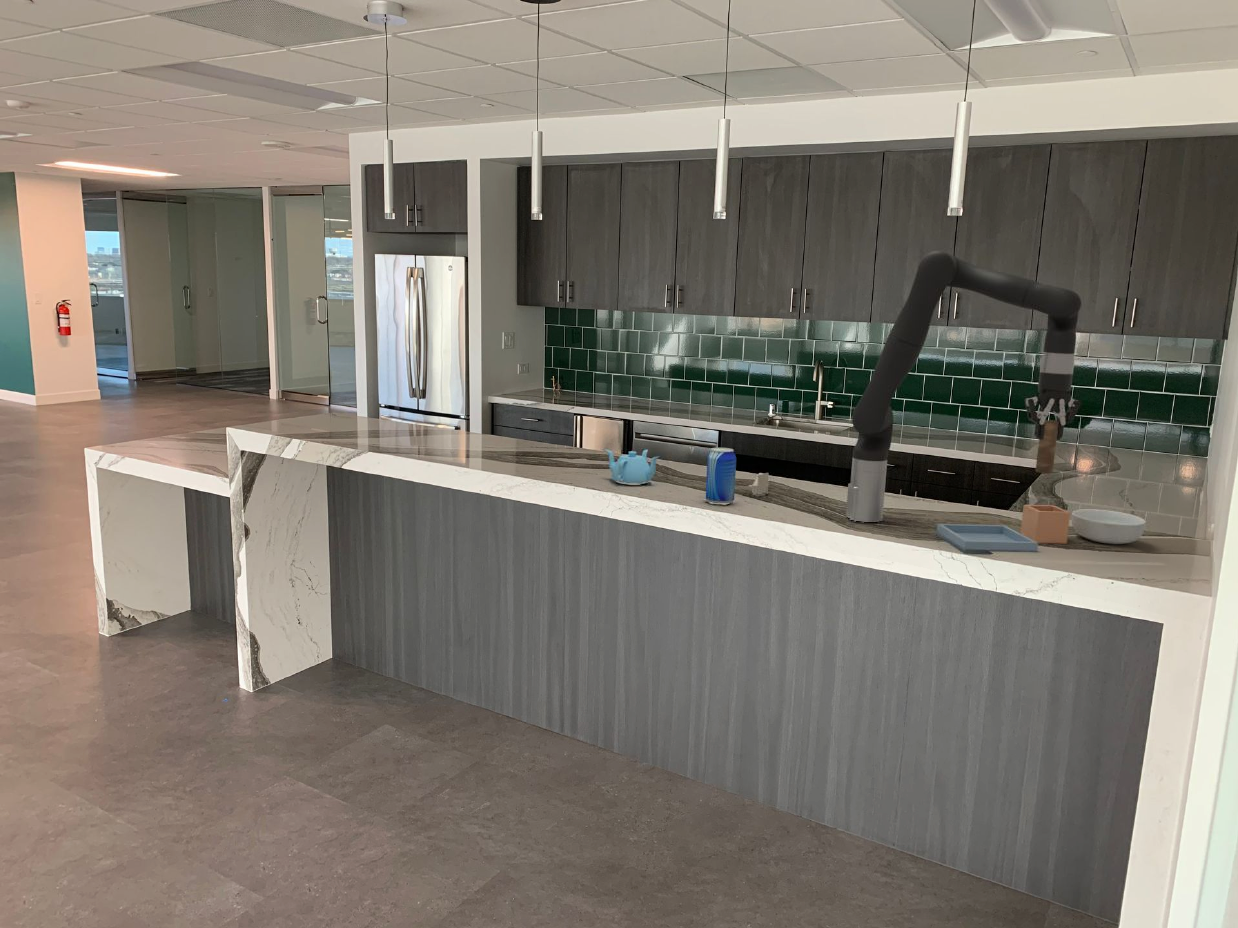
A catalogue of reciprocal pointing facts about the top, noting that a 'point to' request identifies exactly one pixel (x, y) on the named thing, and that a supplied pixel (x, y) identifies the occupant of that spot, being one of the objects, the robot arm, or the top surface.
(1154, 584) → the top surface
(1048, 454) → the walnut peg
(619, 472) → the teapot
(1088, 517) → the cereal bowl
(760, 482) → the architectural model
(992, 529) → the slate-blue tray
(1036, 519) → the terracotta open box
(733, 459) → the beer can
